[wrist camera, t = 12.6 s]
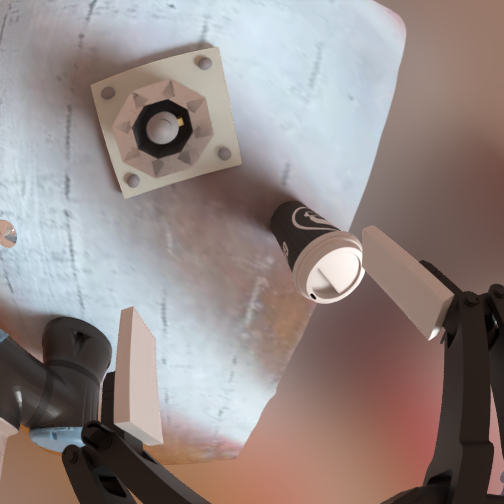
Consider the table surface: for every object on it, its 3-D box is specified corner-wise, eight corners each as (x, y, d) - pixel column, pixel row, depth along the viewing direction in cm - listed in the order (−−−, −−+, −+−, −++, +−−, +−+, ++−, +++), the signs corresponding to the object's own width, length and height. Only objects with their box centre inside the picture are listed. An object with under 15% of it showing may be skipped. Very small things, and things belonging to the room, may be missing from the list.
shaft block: (126, 195, 35) (108, 236, 25) (93, 85, 26) (57, 82, 16) (239, 161, 36) (266, 189, 27) (216, 48, 27) (235, 26, 18)
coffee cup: (253, 204, 40) (291, 260, 28) (312, 183, 41) (370, 227, 28) (269, 255, 46) (305, 319, 33) (322, 234, 46) (371, 289, 34)
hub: (139, 169, 31) (131, 187, 25) (119, 100, 26) (105, 101, 20) (211, 148, 32) (219, 160, 26) (195, 77, 27) (200, 71, 21)
